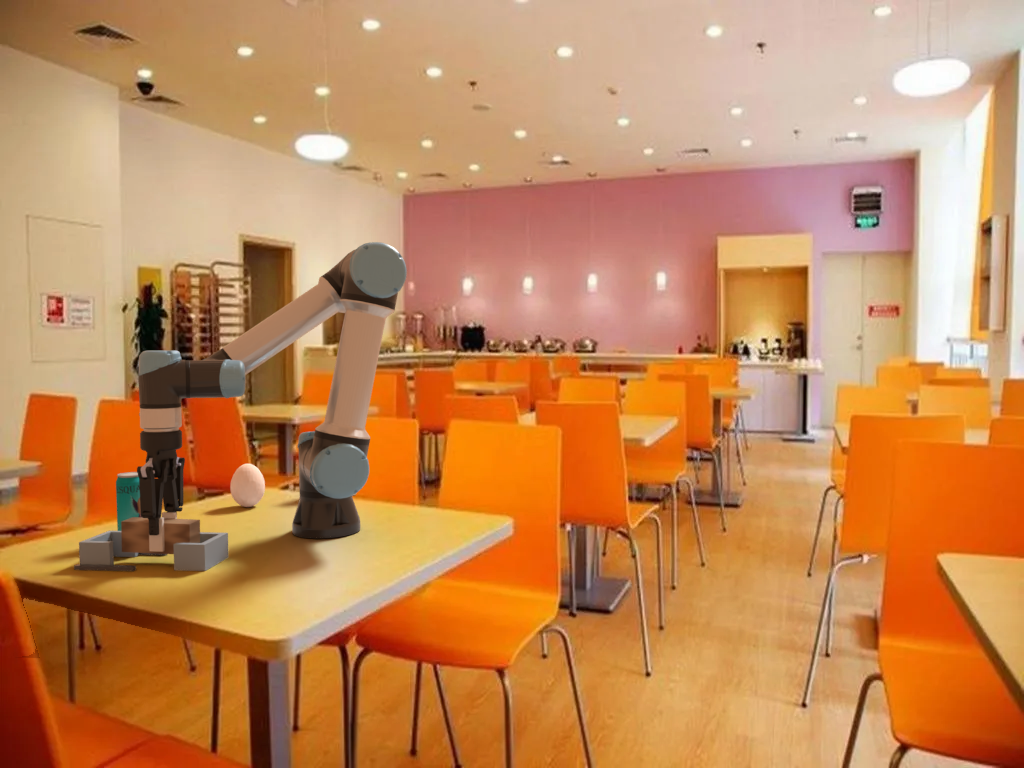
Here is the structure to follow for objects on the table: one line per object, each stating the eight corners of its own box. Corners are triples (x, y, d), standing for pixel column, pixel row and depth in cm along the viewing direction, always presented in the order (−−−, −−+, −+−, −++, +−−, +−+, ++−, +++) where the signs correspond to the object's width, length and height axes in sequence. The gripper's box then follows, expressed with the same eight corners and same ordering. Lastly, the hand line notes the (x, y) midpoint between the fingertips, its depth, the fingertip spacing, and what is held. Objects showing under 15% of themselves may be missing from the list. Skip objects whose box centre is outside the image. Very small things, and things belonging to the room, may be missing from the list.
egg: (238, 503, 216) (237, 461, 216) (270, 503, 216) (269, 461, 215) (225, 510, 208) (224, 466, 207) (258, 510, 207) (257, 466, 207)
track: (167, 554, 165) (167, 550, 165) (133, 571, 153) (133, 567, 153) (112, 553, 166) (112, 549, 166) (74, 569, 154) (73, 565, 154)
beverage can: (135, 546, 172) (133, 476, 171) (112, 545, 173) (109, 475, 172) (152, 539, 177) (150, 471, 176) (129, 538, 178) (127, 471, 178)
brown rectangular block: (200, 549, 159) (199, 519, 159) (189, 555, 155) (189, 524, 155) (133, 546, 161) (133, 517, 161) (121, 551, 157) (121, 521, 157)
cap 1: (138, 555, 164) (137, 531, 164) (110, 568, 155) (109, 542, 154) (110, 554, 165) (109, 530, 164) (79, 567, 155) (78, 542, 155)
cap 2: (228, 557, 162) (227, 532, 162) (205, 570, 152) (204, 544, 152) (199, 556, 163) (198, 532, 162) (174, 570, 153) (173, 544, 153)
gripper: (166, 424, 166) (168, 537, 167) (116, 433, 149) (119, 558, 150) (201, 425, 165) (203, 538, 166) (155, 434, 148) (158, 560, 149)
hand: (163, 547), depth 158 cm, fingers closed on brown rectangular block, 4 cm apart
